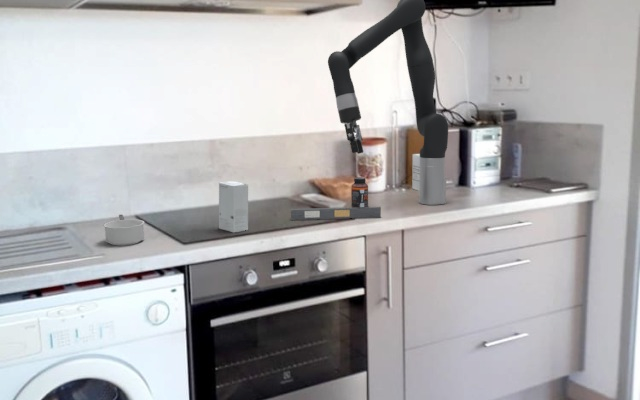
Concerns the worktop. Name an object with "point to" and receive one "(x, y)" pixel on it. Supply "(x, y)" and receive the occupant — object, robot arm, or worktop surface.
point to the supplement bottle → (359, 193)
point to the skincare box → (233, 206)
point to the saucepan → (124, 231)
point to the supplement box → (415, 171)
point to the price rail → (335, 213)
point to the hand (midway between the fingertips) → (358, 152)
